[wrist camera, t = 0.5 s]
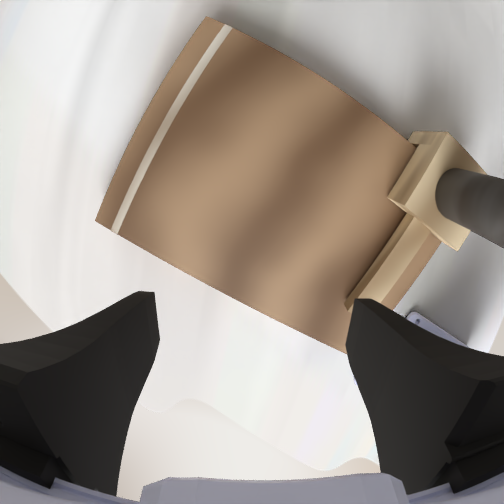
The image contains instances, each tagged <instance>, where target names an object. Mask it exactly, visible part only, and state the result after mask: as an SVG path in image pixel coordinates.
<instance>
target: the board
mask: <svg viewBox="0 0 504 504" xmlns="http://www.w3.org/2000/svg"><path fill="white" fill-rule="evenodd" d="M416 149H417V148H415V147H414V146H413V145H412V144H411V143H410V142H409V141H407V140H406V139H405V138H404V137H403V136H401V135H400V134H399V133H398V132H397V131H395V130H394V129H393V128H392V127H390V126H389V125H388V124H387V123H385V122H384V121H383V120H382V119H380V118H379V117H378V116H376V115H375V114H374V113H373V112H371V111H370V110H369V109H367V108H366V107H365V106H363V105H362V104H360V103H359V102H358V101H356V100H355V99H353V98H352V97H351V96H349V95H348V94H346V93H345V92H343V91H342V90H341V89H339V88H338V87H336V86H335V85H333V84H332V83H330V82H329V81H327V80H326V79H324V78H322V77H321V76H319V75H318V74H316V73H315V72H313V71H311V70H310V69H308V68H307V67H305V66H303V65H302V64H300V63H298V62H297V61H295V60H293V59H291V58H290V57H288V56H286V55H284V54H283V53H281V52H279V51H277V50H275V49H274V48H272V47H270V46H268V45H266V44H264V43H262V42H260V41H258V40H257V39H255V38H253V37H251V36H249V35H247V34H245V33H242V32H240V31H238V30H236V29H234V28H233V27H230V26H228V25H226V24H223V23H221V22H219V21H216V20H214V19H212V18H210V17H207V16H206V17H205V19H204V20H203V21H202V23H201V24H200V25H199V27H198V28H197V30H196V31H195V33H194V34H193V35H192V37H191V38H190V40H189V41H188V43H187V44H186V46H185V47H184V49H183V50H182V52H181V53H180V55H179V56H178V58H177V59H176V61H175V63H174V64H173V66H172V67H171V69H170V70H169V72H168V74H167V75H166V77H165V79H164V80H163V82H162V84H161V85H160V87H159V89H158V90H157V92H156V94H155V96H154V97H153V99H152V101H151V103H150V104H149V106H148V108H147V110H146V112H145V113H144V115H143V117H142V119H141V121H140V123H139V125H138V127H137V129H136V130H135V132H134V134H133V136H132V138H131V140H130V142H129V144H128V146H127V148H126V150H125V153H124V155H123V157H122V159H121V161H120V163H119V165H118V167H117V170H116V172H115V174H114V176H113V178H112V181H111V183H110V185H109V188H108V190H107V192H106V195H105V197H104V199H103V202H102V204H101V207H100V209H99V212H98V214H97V217H96V219H95V221H96V222H98V223H99V224H101V225H103V226H104V227H106V228H108V229H110V230H111V231H112V232H114V233H116V234H118V235H120V236H121V237H123V238H125V239H127V240H128V241H130V242H132V243H134V244H135V245H137V246H139V247H141V248H142V249H144V250H146V251H148V252H149V253H151V254H153V255H155V256H156V257H158V258H160V259H162V260H163V261H165V262H167V263H169V264H171V265H172V266H174V267H176V268H178V269H180V270H182V271H183V272H185V273H187V274H189V275H191V276H193V277H194V278H196V279H198V280H200V281H202V282H204V283H205V284H207V285H209V286H211V287H213V288H215V289H217V290H219V291H221V292H222V293H224V294H226V295H228V296H230V297H232V298H234V299H236V300H238V301H240V302H242V303H243V304H245V305H247V306H249V307H251V308H253V309H255V310H257V311H259V312H261V313H263V314H265V315H267V316H269V317H271V318H273V319H275V320H277V321H279V322H281V323H283V324H285V325H287V326H289V327H291V328H293V329H295V330H297V331H299V332H301V333H303V334H305V335H307V336H309V337H312V338H314V339H316V340H318V341H320V342H322V343H324V344H326V345H328V346H330V347H333V348H335V349H337V350H339V351H341V352H343V353H345V354H347V351H346V346H345V343H346V339H347V334H348V329H349V325H350V320H351V315H352V313H350V312H348V311H347V309H346V307H345V305H344V302H345V301H346V300H347V298H348V297H349V296H350V294H351V293H352V292H353V290H354V289H355V288H356V286H357V285H358V284H359V282H360V281H361V279H362V278H363V277H364V275H365V274H366V273H367V271H368V270H369V268H370V267H371V266H372V264H373V263H374V261H375V260H376V258H377V257H378V256H379V254H380V253H381V251H382V250H383V248H384V247H385V245H386V244H387V243H388V241H389V240H390V238H391V237H392V235H393V234H394V232H395V231H396V229H397V228H398V226H399V225H400V223H401V221H402V220H403V218H404V217H405V215H406V214H407V213H406V212H405V211H404V210H402V209H401V208H400V207H399V206H397V205H396V204H395V203H394V202H392V201H391V200H390V199H388V198H387V197H388V195H389V193H390V192H391V190H392V189H393V187H394V185H395V184H396V182H397V181H398V179H399V177H400V176H401V174H402V173H403V171H404V169H405V168H406V166H407V164H408V163H409V161H410V159H411V158H412V156H413V154H414V153H415V151H416ZM441 242H442V241H440V240H438V239H437V238H436V237H435V236H434V235H433V234H431V233H429V235H428V236H427V238H426V240H425V241H424V243H423V244H422V246H421V247H420V249H419V250H418V252H417V253H416V254H415V256H414V257H413V259H412V260H411V262H410V263H409V265H408V266H407V267H406V269H405V270H404V272H403V273H402V274H401V276H400V277H399V279H398V280H397V281H396V283H395V284H394V285H393V287H392V288H391V290H390V291H389V292H388V294H387V295H386V296H385V298H384V299H383V300H382V301H381V304H382V305H384V306H386V307H388V308H389V309H391V310H392V311H393V309H394V308H395V307H396V305H397V304H398V303H399V301H400V300H401V299H402V298H403V296H404V295H405V294H406V292H407V291H408V289H409V288H410V287H411V285H412V284H413V283H414V281H415V280H416V278H417V277H418V276H419V274H420V273H421V271H422V270H423V269H424V267H425V266H426V264H427V263H428V261H429V260H430V258H431V257H432V255H433V254H434V252H435V251H436V249H437V248H438V246H439V245H440V243H441Z"/></svg>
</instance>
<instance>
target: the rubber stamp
mask: <svg viewBox="0 0 504 504" xmlns="http://www.w3.org/2000/svg"><path fill="white" fill-rule="evenodd" d="M408 141H409V142H410V143H411V144H412V145H413V146H414V147H415V148H417V149H416V151H415V153H414V154H413V156H412V158H411V159H410V161H409V163H408V164H407V166H406V168H405V169H404V171H403V173H402V174H401V176H400V177H399V179H398V181H397V182H396V184H395V185H394V187H393V189H392V190H391V192H390V193H389V195H388V197H387V198H388V199H390V200H391V201H392V202H394V203H395V204H396V205H397V206H399V207H400V208H401V209H402V210H404V211H405V212H406V213H407V214H406V215H405V217H404V218H403V220H402V221H401V223H400V225H399V226H398V228H397V229H396V231H395V232H394V234H393V235H392V237H391V238H390V240H389V241H388V243H387V244H386V245H385V247H384V248H383V250H382V251H381V253H380V254H379V256H378V257H377V258H376V260H375V261H374V263H373V264H372V266H371V267H370V268H369V270H368V271H367V273H366V274H365V275H364V277H363V278H362V279H361V281H360V282H359V284H358V285H357V286H356V288H355V289H354V290H353V292H352V293H351V294H350V296H349V297H348V298H347V300H346V301H345V302H344V305H345V307H346V309H347V311H348V312H350V313H352V310H353V304H354V299H355V298H370V299H373V300H375V301H377V302H379V303H381V301H382V300H383V299H384V298H385V296H386V295H387V294H388V292H389V291H390V290H391V288H392V287H393V285H394V284H395V283H396V281H397V280H398V279H399V277H400V276H401V274H402V273H403V272H404V270H405V269H406V267H407V266H408V265H409V263H410V262H411V260H412V259H413V257H414V256H415V254H416V253H417V252H418V250H419V249H420V247H421V246H422V244H423V243H424V241H425V240H426V238H427V236H428V235H429V233H431V234H433V235H434V236H435V237H436V238H437V239H438V240H440V241H442V242H443V243H445V244H446V245H448V246H449V247H451V248H453V249H454V250H456V251H457V252H458V250H459V249H460V247H461V246H462V244H463V242H464V241H465V239H466V238H467V236H468V234H469V233H470V231H473V232H474V233H476V234H478V235H480V236H482V237H484V238H486V239H488V240H489V241H491V242H493V243H495V244H497V245H499V246H500V247H502V248H504V179H501V178H497V177H493V176H489V175H487V174H486V173H485V171H484V170H483V169H482V168H481V167H480V166H479V165H478V163H477V162H476V161H475V160H474V159H473V158H472V157H471V156H470V154H469V153H468V152H467V151H466V150H465V149H464V148H463V147H462V146H461V145H460V144H459V143H458V142H457V141H456V140H455V139H454V138H453V137H452V136H451V135H450V134H449V133H448V132H431V131H413V133H412V134H411V136H410V138H409V139H408Z"/></svg>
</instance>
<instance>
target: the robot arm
mask: <svg viewBox="0 0 504 504" xmlns="http://www.w3.org/2000/svg"><path fill="white" fill-rule="evenodd" d="M417 319H418V321H416V320H417ZM415 321H416V322H415ZM159 341H160V336H159V328H158V320H157V311H156V303H155V293H154V292H144V291H138V292H135V293H133V294H131V295H129V296H127V297H125V298H124V299H122V300H120V301H118V302H116V303H115V304H113V305H111V306H109V307H108V308H106V309H104V310H102V311H100V312H98V313H96V314H94V315H92V316H90V317H88V318H86V319H85V320H83V321H80V322H78V323H76V324H74V325H71V326H69V327H66V328H64V329H61V330H59V331H56V332H53V333H49V334H46V335H42V336H39V337H35V338H32V339H27V340H23V341H18V342H12V343H5V344H0V504H504V356H499V355H494V354H489V353H485V352H481V351H477V350H474V349H471V348H468V346H467V345H465V344H464V343H462V342H461V341H459V340H458V339H456V338H455V337H453V336H452V335H450V334H449V333H447V332H446V331H444V330H443V329H441V328H440V327H438V326H437V325H435V324H434V323H432V322H431V321H429V320H428V319H426V318H425V317H423V316H422V315H420V314H419V313H417V312H411V313H410V314H409V315H408V316H407V318H404V317H402V316H401V315H399V314H397V313H396V312H394V311H392V310H391V309H389V308H388V307H386V306H384V305H382V304H381V303H379V302H377V301H375V300H373V299H370V298H355V299H354V304H353V310H352V315H351V320H350V325H349V329H348V334H347V339H346V343H345V346H346V351H347V355H348V359H349V364H350V367H351V370H352V372H353V375H354V377H355V378H354V383H355V384H356V385H358V388H359V390H360V393H361V395H362V398H363V400H364V403H365V405H366V408H367V411H368V414H369V417H370V420H371V424H372V428H373V432H374V437H375V441H376V446H377V452H378V457H379V463H380V470H381V473H366V474H351V475H343V476H335V477H325V478H313V479H300V480H299V479H298V480H265V481H264V480H258V481H257V480H256V481H255V480H228V479H212V478H200V477H197V478H196V477H194V478H175V477H172V478H171V477H168V478H166V479H163V480H160V481H157V482H155V483H152V484H149V485H146V486H144V487H143V490H142V494H141V498H140V502H137V501H133V500H129V499H124V498H120V497H116V494H117V485H118V478H119V471H120V466H121V460H122V455H123V450H124V445H125V441H126V436H127V432H128V428H129V424H130V421H131V417H132V414H133V411H134V408H135V405H136V403H137V401H138V398H139V396H140V393H141V391H142V389H143V386H144V384H145V382H146V379H147V377H148V375H149V372H150V370H151V368H152V365H153V363H154V360H155V357H156V353H157V349H158V345H159Z"/></svg>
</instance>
